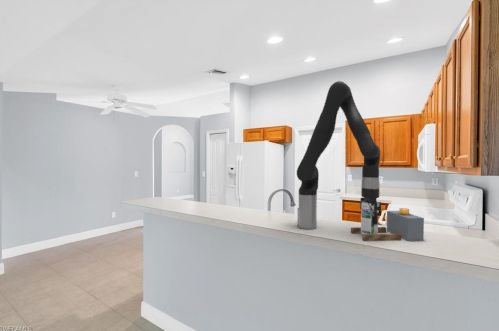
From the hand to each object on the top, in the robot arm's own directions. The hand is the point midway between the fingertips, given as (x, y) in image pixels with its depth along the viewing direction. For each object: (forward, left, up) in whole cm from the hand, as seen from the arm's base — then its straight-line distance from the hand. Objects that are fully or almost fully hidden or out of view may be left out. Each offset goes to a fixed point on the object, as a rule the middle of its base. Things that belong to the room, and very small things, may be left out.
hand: (369, 222), depth 122 cm
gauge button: (+16, 0, +2) cm, 17 cm away
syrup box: (0, 0, -5) cm, 5 cm away
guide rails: (+2, 0, -7) cm, 7 cm away
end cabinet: (+16, 0, -7) cm, 18 cm away
